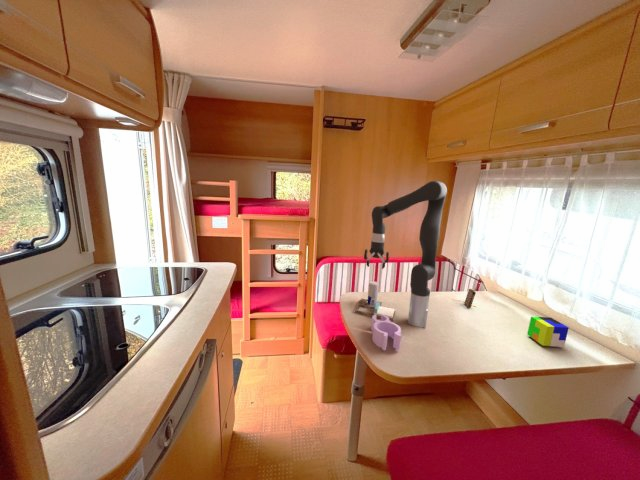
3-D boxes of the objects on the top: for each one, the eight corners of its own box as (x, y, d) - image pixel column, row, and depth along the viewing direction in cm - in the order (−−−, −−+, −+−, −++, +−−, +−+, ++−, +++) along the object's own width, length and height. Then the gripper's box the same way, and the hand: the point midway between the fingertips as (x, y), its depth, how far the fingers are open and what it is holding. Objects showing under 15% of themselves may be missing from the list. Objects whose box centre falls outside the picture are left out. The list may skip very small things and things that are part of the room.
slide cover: (394, 310, 152) (395, 305, 151) (392, 318, 143) (393, 312, 142) (376, 307, 155) (377, 301, 155) (374, 314, 146) (374, 308, 145)
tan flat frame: (396, 307, 160) (396, 305, 160) (393, 321, 143) (393, 318, 142) (361, 300, 168) (361, 298, 167) (354, 312, 150) (354, 310, 150)
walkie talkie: (480, 312, 160) (485, 283, 156) (457, 309, 162) (462, 281, 158) (472, 303, 172) (476, 276, 169) (451, 301, 174) (454, 275, 171)
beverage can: (377, 305, 162) (379, 281, 159) (375, 308, 157) (378, 284, 154) (368, 303, 164) (370, 280, 161) (366, 306, 159) (368, 283, 156)
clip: (365, 327, 135) (366, 314, 134) (388, 326, 137) (390, 314, 135) (378, 350, 116) (379, 336, 114) (405, 349, 117) (406, 335, 116)
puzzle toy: (564, 346, 126) (568, 327, 124) (542, 345, 126) (547, 326, 124) (546, 335, 135) (550, 317, 134) (527, 334, 136) (531, 316, 134)
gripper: (391, 241, 154) (388, 267, 157) (366, 238, 159) (364, 264, 162) (389, 243, 147) (386, 271, 150) (364, 240, 152) (362, 267, 155)
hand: (375, 267), depth 156 cm, fingers open, 8 cm apart
